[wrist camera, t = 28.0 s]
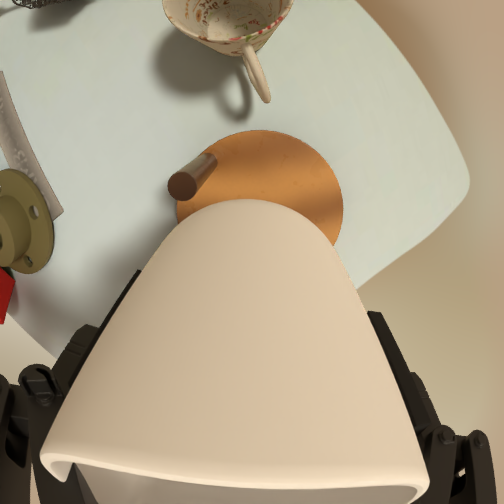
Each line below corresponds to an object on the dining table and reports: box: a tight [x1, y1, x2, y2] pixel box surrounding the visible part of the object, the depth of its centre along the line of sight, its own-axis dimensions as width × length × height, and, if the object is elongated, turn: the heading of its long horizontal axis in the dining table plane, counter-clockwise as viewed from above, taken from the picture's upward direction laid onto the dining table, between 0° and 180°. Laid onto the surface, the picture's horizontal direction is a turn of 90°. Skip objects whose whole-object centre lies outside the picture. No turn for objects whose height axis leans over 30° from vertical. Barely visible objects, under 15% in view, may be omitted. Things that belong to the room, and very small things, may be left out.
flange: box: [0, 169, 53, 274], centre depth 27 cm, size 5×15×15 cm
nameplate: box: [0, 71, 64, 222], centre depth 25 cm, size 23×1×5 cm
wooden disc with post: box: [168, 130, 343, 246], centre depth 23 cm, size 16×16×10 cm
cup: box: [40, 199, 430, 504], centre depth 9 cm, size 8×12×10 cm
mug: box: [162, 0, 294, 103], centre depth 17 cm, size 8×13×10 cm, turn 21°
